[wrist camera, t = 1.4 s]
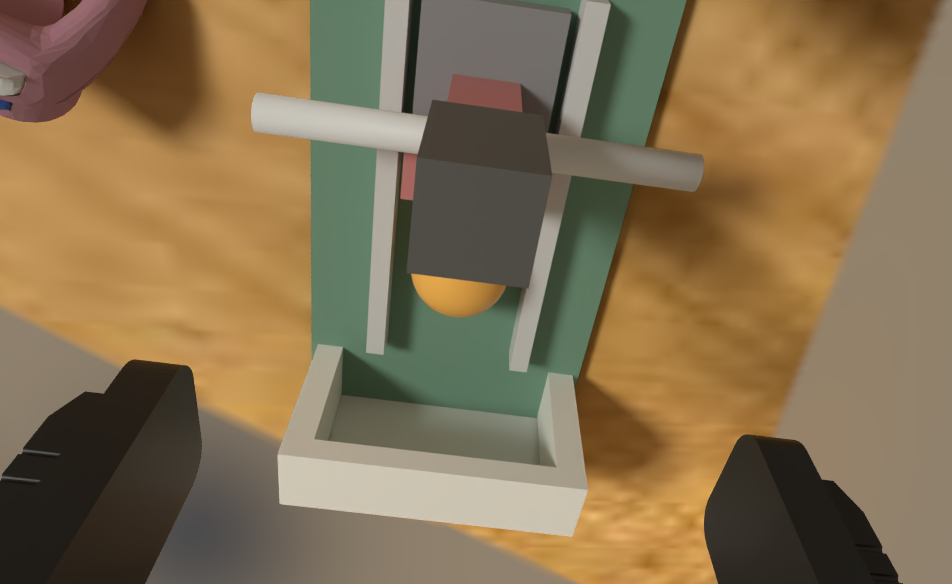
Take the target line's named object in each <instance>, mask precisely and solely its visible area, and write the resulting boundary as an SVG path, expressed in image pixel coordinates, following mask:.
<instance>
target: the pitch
mask: <svg viewBox="0 0 952 584" xmlns="http://www.w3.org/2000/svg"><path fill="white" fill-rule="evenodd" d="M516 1H523V2H530V3H536V4H543V5H550V6H556V7H563V8H569V10H570V12H571V14H572V15H571V20H570V25H569V30H568V35H567V40H566V45H565V49H564V54H563V59H562V64H561V69H560V74H559V79H558V84H557V89H556V94H555V99H554V104H553V109H552V114H551V119H550V124H549V129H548V133H551V134H558V135H565V136H572V137H580V138H587V139H594V140H601V141H608V142H615V143H622V144H630V145H637V146H644V147H645V143H646V140H647V136H648V133H649V130H650V126H651V123H652V119H653V116H654V112H655V109H656V105H657V102H658V98H659V95H660V91H661V88H662V84H663V81H664V77H665V74H666V70H667V67H668V63H669V60H670V56H671V53H672V49H673V46H674V43H675V39H676V36H677V32H678V29H679V25H680V22H681V18H682V15H683V11H684V8H685V4H686V1H687V0H516ZM421 3H422V0H310V54H311V100H316V101H323V102H330V103H337V104H344V105H352V106H359V107H366V108H373V109H380V110H387V111H394V112H401V113H409V114H412V112H413V100H414V88H415V76H416V64H417V52H418V39H419V27H420V15H421ZM403 158H404V152H398V151H391V150H383V149H376V148H369V147H362V146H354V145H347V144H340V143H332V142H325V141H318V140H311V293H312V359H313V356H314V354H315V351H316V348H317V345H318V344H322V345H330V346H338V347H343V365H342V394H341V395H347V396H356V397H364V398H372V399H381V400H389V401H398V402H406V403H414V404H423V405H431V406H439V407H448V408H456V409H464V410H473V411H481V412H489V413H498V414H506V415H514V416H523V417H531V418H537V415H538V411H539V407H540V403H541V399H542V396H543V392H544V388H545V384H546V380H547V376H548V372H549V373H557V374H565V375H573V382H574V390H575V387H576V384H577V380H578V377H579V373H580V370H581V366H582V363H583V359H584V356H585V352H586V349H587V345H588V342H589V338H590V335H591V331H592V328H593V324H594V321H595V317H596V314H597V310H598V307H599V304H600V300H601V297H602V293H603V290H604V286H605V283H606V279H607V276H608V272H609V269H610V265H611V262H612V258H613V255H614V251H615V248H616V244H617V241H618V237H619V234H620V230H621V227H622V223H623V220H624V217H625V213H626V210H627V206H628V203H629V199H630V196H631V192H632V189H633V185H634V184H631V183H623V182H616V181H609V180H602V179H594V178H587V177H580V176H572V175H565V174H558V173H552V180H551V185H550V190H549V195H548V199H547V204H546V209H545V213H544V218H543V223H542V228H541V232H540V237H539V242H538V246H537V251H536V256H535V261H534V265H533V270H532V275H531V279H530V284H529V289H527V288H520V287H512V286H506V288H505V290H504V292H503V294H502V295H501V297H500V298H499V300H498V301H497V302H496V303H495V304H494V305H493V306H492V307H490V308H489V309H487V310H486V311H484V312H482V313H480V314H478V315H475V316H471V317H465V318H456V317H449V316H446V315H443V314H441V313H438V312H437V311H435V310H433V309H432V308H430V307H429V306H428V305H427V304H426V303H425V302H424V301H423V300H422V299H421V298H420V296H419V295H418V293H417V291H416V289H415V287H414V284H413V281H412V276H411V273H406V272H407V261H408V250H409V239H410V227H411V216H412V205H413V200H406V199H400V196H401V183H402V171H403Z"/></svg>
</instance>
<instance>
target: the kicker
mask: <svg viewBox="0 0 952 584" xmlns="http://www.w3.org/2000/svg"><path fill="white" fill-rule="evenodd" d="M571 15H572V14H571V12H570V10H569V8H563V7H556V6H550V5H543V4H536V3H530V2H523V1H516V0H422V3H421V15H420V27H419V39H418V52H417V64H416V76H415V88H414V100H413V112H412V114H409V113H401V112H394V111H387V110H380V109H373V108H366V107H359V106H352V105H344V104H337V103H330V102H323V101H316V100H309V99H302V98H294V97H287V96H280V95H273V94H266V93H259V92H258V93H256V94H255V96H254V99H253V103H252V109H251V122H252V127H253V130H254V131H255V132H260V133H267V134H274V135H281V136H289V137H296V138H303V139H311V140H318V141H325V142H332V143H340V144H347V145H354V146H362V147H369V148H376V149H383V150H391V151H398V152H404V158H403V171H402V183H401V196H400V199H406V200H413V205H412V216H411V227H410V239H409V250H408V261H407V272H406V273H411V274H419V275H427V276H434V277H442V278H450V279H458V280H465V281H473V282H481V283H489V284H496V285H504V286H512V287H520V288H527V289H529V284H530V279H531V275H532V270H533V265H534V261H535V256H536V251H537V246H538V242H539V237H540V232H541V228H542V223H543V218H544V213H545V209H546V204H547V199H548V195H549V190H550V185H551V180H552V173H558V174H565V175H572V176H580V177H587V178H594V179H602V180H609V181H616V182H623V183H631V184H638V185H645V186H652V187H660V188H667V189H674V190H682V191H689V192H695V191H696V190H697V188H698V187H699V185H700V182H701V179H702V176H703V170H704V159H703V156H702V155H701V154H694V153H687V152H679V151H672V150H665V149H658V148H651V147H644V146H637V145H630V144H622V143H615V142H608V141H601V140H594V139H587V138H580V137H572V136H565V135H558V134H551V133H548V129H549V124H550V119H551V114H552V109H553V104H554V99H555V94H556V89H557V84H558V79H559V74H560V69H561V64H562V59H563V54H564V49H565V45H566V40H567V35H568V30H569V25H570V20H571Z"/></svg>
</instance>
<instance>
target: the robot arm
mask: <svg viewBox="0 0 952 584" xmlns="http://www.w3.org/2000/svg"><path fill="white" fill-rule="evenodd" d="M201 449H202V441H201V432H200V424H199V417H198V409H197V401H196V393H195V385H194V378H193V373H192V370H191V369H190V367H188V366H185V365H177V364H169V363H160V362H152V361H144V360H131V361H129V362H128V363H127V364H125V366H124V367H123V368H122V369H121V371H120V372H119V374H118V375H117V376H116V378H115V379H114V380H113V382H112V383H111V384H110V386H109V387H108V389H107V390H106V391H105V393H104V394H101V393H92V392H84V393H82V394H81V395H79V396H78V397H76V398H75V399H73V400H72V401H71V402H69V403H68V404H66V405H65V406H63V407H62V408H60V409H59V410H57V411H56V412H54V413H53V414H52V415H50V416H48V418H47V419H46V420H45V421H44V422H43V424H42V425H41V426H40V428H39V429H38V430H37V431H36V432H35V434H34V435H33V437H32V438H31V439H30V440H29V441H28V443H27V444H26V445H25V446H24V448H23V453H22V454H18V455H17V456H16V458H15V459H14V460H13V461H12V463H11V464H10V465H9V466H8V468H7V469H6V470H5V471H4V473H3V474H2V479H1V481H0V584H145V583H146V581H147V578H148V576H149V575H150V572H151V570H152V568H153V566H154V564H155V562H156V560H157V558H158V556H159V554H160V552H161V550H162V548H163V546H164V543H165V542H166V539H167V537H168V535H169V533H170V531H171V529H172V527H173V525H174V523H175V521H176V519H177V517H178V515H179V513H180V511H181V508H182V506H183V504H184V502H185V500H186V498H187V496H188V494H189V492H190V490H191V488H192V486H193V483H194V481H195V478H196V475H197V472H198V468H199V464H200V459H201ZM704 532H705V539H706V544H707V548H708V551H709V554H710V558H711V561H712V564H713V568H714V571H715V574H716V578H717V581H718V584H903V583H899V582H898V574H897V572H896V571H895V569H894V567H893V565H892V563H891V561H890V560H889V558H888V556H887V554H883V553H882V545H881V543H880V541H879V540H878V538H877V536H876V534H875V532H874V531H873V529H872V527H871V525H870V523H869V521H868V520H867V518H866V516H865V514H864V512H863V511H862V510H861V509H860V508H859V507H858V506H857V505H856V504H855V503H854V502H853V501H852V500H851V499H850V498H849V497H848V496H847V495H846V494H845V493H844V492H843V491H842V490H841V489H840V487H838V485H837V484H836V483H834V481H829V480H822V479H821V477H820V475H819V473H818V472H817V470H816V468H815V466H814V464H813V462H812V460H811V458H810V456H809V454H808V452H807V450H806V449H805V447H804V446H803V445H802V444H801V443H800V442H798V441H796V440H789V439H781V438H773V437H764V436H756V435H743V436H741V437H740V438H739V439H738V441H737V442H736V444H735V446H734V448H733V450H732V452H731V454H730V456H729V458H728V460H727V463H726V465H725V467H724V469H723V471H722V473H721V475H720V477H719V479H718V481H717V483H716V485H715V487H714V489H713V491H712V493H711V495H710V497H709V500H708V502H707V505H706V510H705V517H704Z"/></svg>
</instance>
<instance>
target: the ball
mask: <svg viewBox="0 0 952 584" xmlns="http://www.w3.org/2000/svg"><path fill="white" fill-rule="evenodd" d="M411 276H412V281H413V284H414V287H415V289H416V291H417V293H418V295H419V296H420V298H421V299H422V300H423V301H424V302H425V303H426V304H427V305H428V306H429V307H430V308H432V309H433V310H435V311H437V312H438V313H441V314H443V315H446V316H449V317H456V318H465V317H471V316H475V315H478V314H480V313H482V312H484V311H486V310H487V309H489V308H490V307H492V306H493V305H494V304H495V303H496V302H497V301H498V300H499V298H500V297H501V295H502V294H503V292H504V290H505V288H506V286H504V285H496V284H489V283H481V282H473V281H465V280H458V279H450V278H442V277H434V276H427V275H419V274H411Z"/></svg>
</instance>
